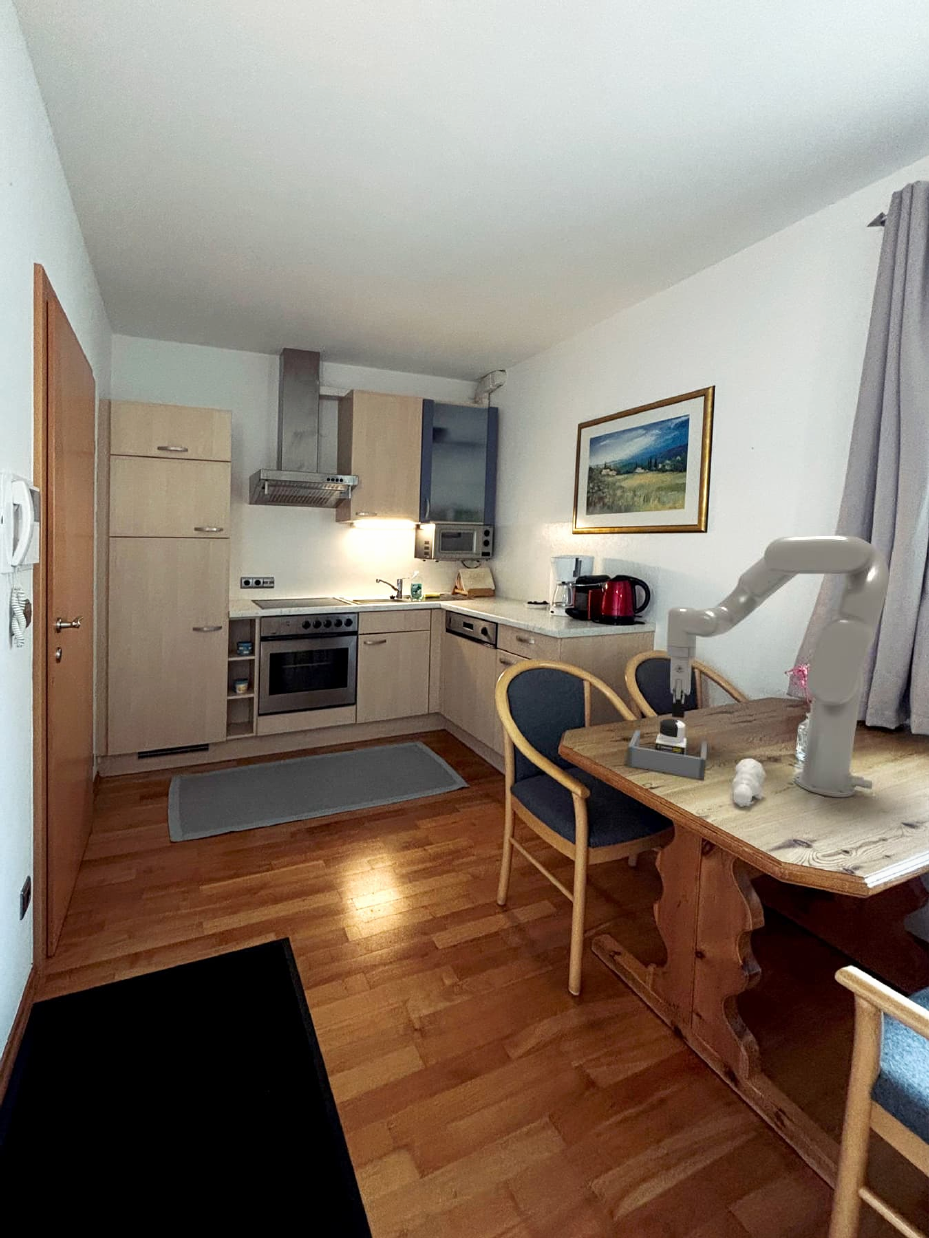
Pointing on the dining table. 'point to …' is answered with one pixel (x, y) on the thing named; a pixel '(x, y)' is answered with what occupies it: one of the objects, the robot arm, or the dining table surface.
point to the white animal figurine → (747, 781)
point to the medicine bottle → (671, 737)
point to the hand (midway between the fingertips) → (678, 716)
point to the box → (666, 760)
